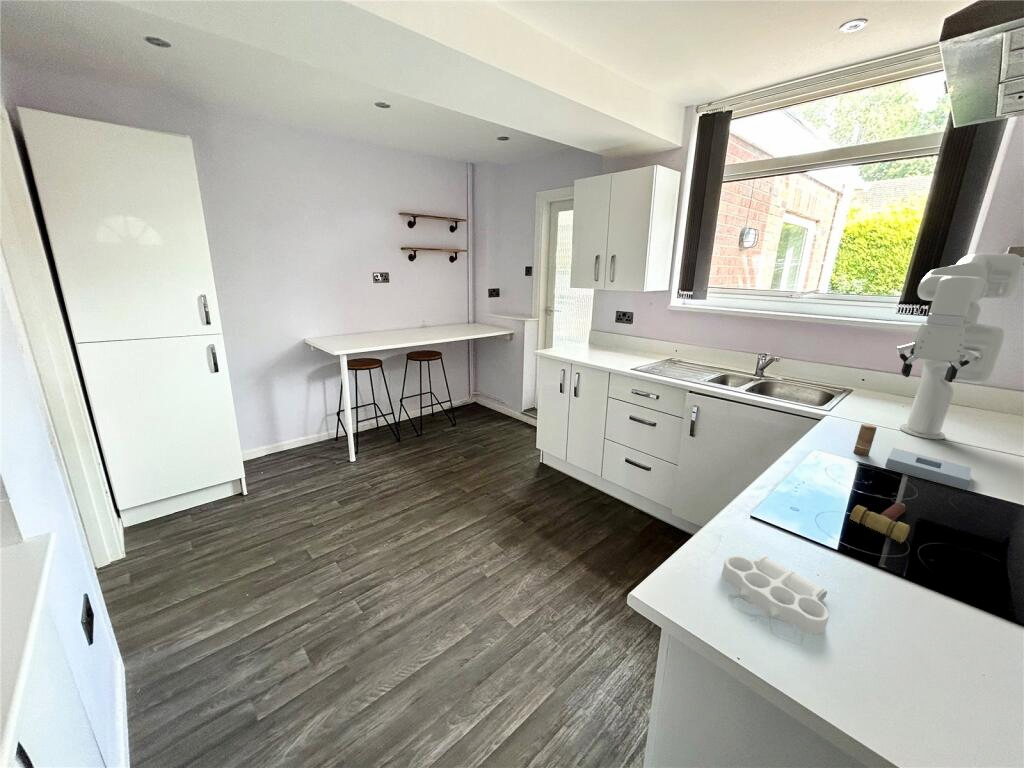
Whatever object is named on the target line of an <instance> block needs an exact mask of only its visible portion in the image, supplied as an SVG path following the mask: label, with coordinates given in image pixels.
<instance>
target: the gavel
mask: <svg viewBox="0 0 1024 768" xmlns="http://www.w3.org/2000/svg"><path fill="white" fill-rule="evenodd" d="M905 512H906V505H905V503H899V502H895V503H894V504H892V505H891V506H889V507H888V508H887V509H885V510H884V511H882V512H881V513H880V514H878V513H877V512H873V511H869V510H868V507H865V506H862V505H859V504H857V505H856V506H855V507H854V508H853V509H852V511H851V514H850V516H849V520H850V519H851V520H853V521H855V522H857V523H858V524H859V523H861V524H860V525H862V524H863V525H862V526H864V525H865V526H866V527H865V526H864V527H865V528H867V527H869V528H868V529H870V528H871V529H870V530H872V529H873V530H872V531H874V530H875V531H874V532H876V531H878V532H877V533H879V532H880V533H879V534H881V533H882V534H881V535H883V534H885V535H884V536H887V535H888V537H890V539H891V538H892V539H894V540H896V541H895V542H897V541H898V542H897V543H899V542H900V543H899V544H902V542H903V543H904V541H905V540H906V539H907V537H908V535H909V532H910V529H911V527H910V524H906V523H904V522H901V521H895V520H896V519H897V518H899V516H902V515H903V514H904V513H905ZM892 539H891V540H892ZM894 540H893V541H894Z"/></svg>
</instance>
